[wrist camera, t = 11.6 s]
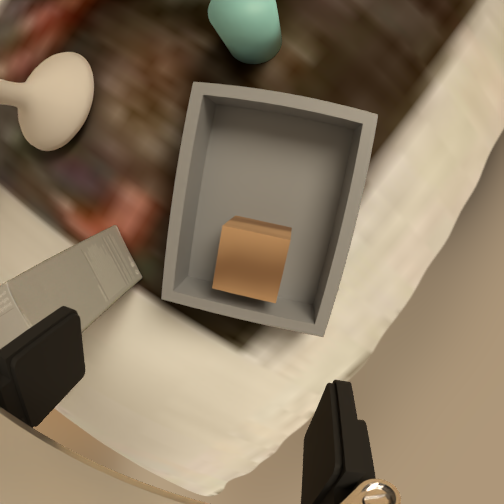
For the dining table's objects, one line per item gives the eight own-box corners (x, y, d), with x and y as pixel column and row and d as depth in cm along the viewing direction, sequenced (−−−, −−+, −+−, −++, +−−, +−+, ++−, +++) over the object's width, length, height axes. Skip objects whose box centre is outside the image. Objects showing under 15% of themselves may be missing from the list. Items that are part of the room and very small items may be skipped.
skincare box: (118, 222, 31) (3, 267, 16) (148, 284, 32) (54, 364, 17) (67, 253, 33) (-36, 303, 18) (95, 307, 34) (5, 378, 19)
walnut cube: (235, 215, 28) (222, 225, 24) (291, 227, 28) (290, 240, 23) (225, 268, 30) (212, 288, 25) (279, 281, 29) (275, 303, 24)
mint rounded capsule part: (233, 16, 24) (216, -19, 18) (286, 22, 24) (282, -14, 17) (222, 60, 26) (200, 33, 19) (276, 68, 25) (269, 39, 19)
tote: (210, 94, 27) (193, 81, 22) (364, 123, 26) (378, 114, 21) (180, 279, 32) (161, 298, 27) (320, 311, 31) (323, 337, 26)
